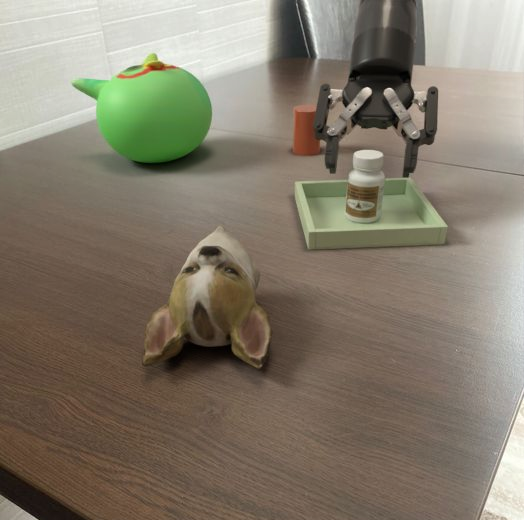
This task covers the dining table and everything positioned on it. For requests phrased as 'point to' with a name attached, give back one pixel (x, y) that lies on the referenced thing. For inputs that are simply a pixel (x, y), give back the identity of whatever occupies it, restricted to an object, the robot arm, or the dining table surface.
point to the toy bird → (151, 111)
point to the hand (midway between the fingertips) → (368, 173)
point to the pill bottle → (365, 187)
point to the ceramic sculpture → (212, 305)
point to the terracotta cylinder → (304, 131)
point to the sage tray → (367, 234)
